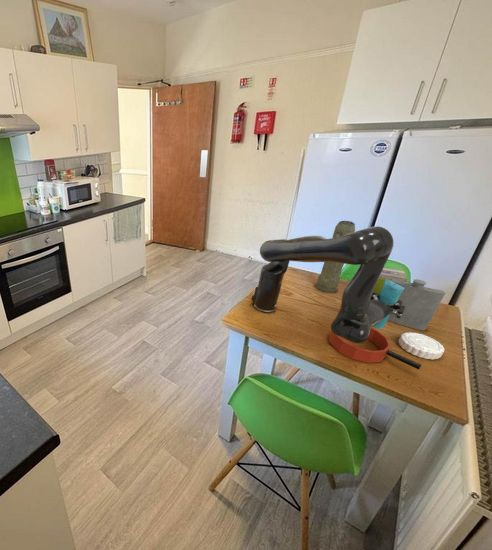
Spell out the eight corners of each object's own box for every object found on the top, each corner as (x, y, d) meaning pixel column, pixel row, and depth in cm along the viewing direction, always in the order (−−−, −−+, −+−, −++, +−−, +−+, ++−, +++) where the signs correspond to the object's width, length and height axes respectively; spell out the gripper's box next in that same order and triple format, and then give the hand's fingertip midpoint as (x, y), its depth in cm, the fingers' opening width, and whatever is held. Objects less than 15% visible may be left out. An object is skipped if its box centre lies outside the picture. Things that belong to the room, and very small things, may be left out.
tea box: (392, 297, 142) (404, 269, 135) (395, 307, 134) (409, 279, 127) (354, 289, 149) (364, 263, 142) (355, 299, 141) (366, 271, 134)
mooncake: (398, 334, 118) (401, 327, 117) (439, 346, 111) (443, 339, 110) (397, 350, 110) (401, 343, 108) (442, 365, 103) (447, 357, 102)
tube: (389, 329, 115) (410, 287, 107) (379, 331, 115) (399, 288, 106) (371, 318, 122) (390, 277, 113) (362, 320, 121) (379, 279, 112)
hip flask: (425, 327, 121) (448, 285, 112) (424, 332, 119) (448, 289, 109) (377, 312, 131) (394, 273, 122) (375, 316, 129) (393, 276, 119)
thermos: (340, 287, 151) (363, 221, 135) (330, 295, 145) (353, 227, 129) (321, 281, 157) (341, 217, 141) (311, 288, 151) (331, 222, 135)
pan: (320, 342, 115) (324, 332, 113) (341, 326, 123) (345, 316, 121) (406, 386, 95) (412, 375, 93) (424, 364, 104) (430, 353, 101)
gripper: (399, 313, 99) (417, 298, 107) (351, 295, 110) (371, 283, 118) (391, 331, 102) (408, 315, 111) (345, 312, 113) (364, 299, 121)
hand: (389, 298), depth 114 cm, fingers closed on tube, 5 cm apart
